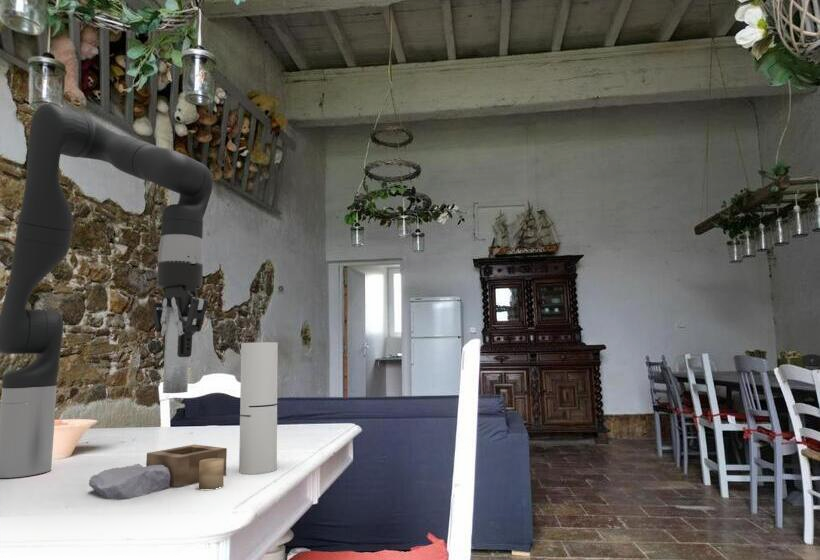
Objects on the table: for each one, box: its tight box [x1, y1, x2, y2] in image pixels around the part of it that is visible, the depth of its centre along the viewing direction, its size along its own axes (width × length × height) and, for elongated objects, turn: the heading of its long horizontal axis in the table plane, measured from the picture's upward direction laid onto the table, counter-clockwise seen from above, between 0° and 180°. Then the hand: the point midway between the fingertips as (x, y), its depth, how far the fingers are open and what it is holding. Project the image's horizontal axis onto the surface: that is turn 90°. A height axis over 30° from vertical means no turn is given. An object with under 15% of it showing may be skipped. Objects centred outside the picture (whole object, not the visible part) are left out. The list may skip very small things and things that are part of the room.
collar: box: [145, 444, 228, 488], centre depth 99 cm, size 10×10×5 cm
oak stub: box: [198, 458, 225, 490], centre depth 92 cm, size 4×4×4 cm
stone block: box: [88, 463, 171, 500], centre depth 91 cm, size 12×5×10 cm
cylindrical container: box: [238, 341, 279, 475], centre depth 106 cm, size 7×7×25 cm
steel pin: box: [162, 307, 190, 394], centre depth 94 cm, size 4×4×15 cm
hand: (176, 356), depth 94 cm, fingers closed on steel pin, 4 cm apart
